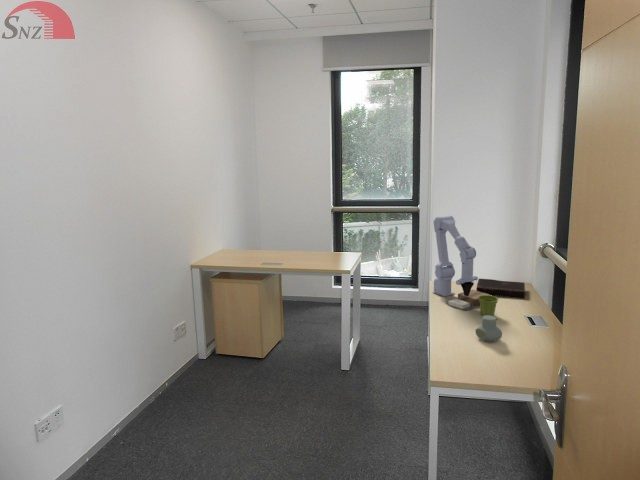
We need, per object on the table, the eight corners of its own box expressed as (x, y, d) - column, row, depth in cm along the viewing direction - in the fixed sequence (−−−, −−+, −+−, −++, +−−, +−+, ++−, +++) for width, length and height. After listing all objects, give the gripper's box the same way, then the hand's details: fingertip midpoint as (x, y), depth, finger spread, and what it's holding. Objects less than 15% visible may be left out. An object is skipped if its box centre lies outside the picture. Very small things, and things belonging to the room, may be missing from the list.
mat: (445, 303, 252) (445, 303, 252) (455, 300, 256) (455, 300, 256) (466, 310, 241) (466, 310, 241) (476, 307, 245) (476, 307, 245)
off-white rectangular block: (456, 298, 253) (456, 302, 253) (448, 300, 249) (448, 304, 250) (470, 303, 245) (469, 306, 246) (462, 305, 242) (462, 309, 242)
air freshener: (472, 336, 209) (473, 314, 207) (487, 333, 212) (488, 312, 210) (489, 345, 199) (490, 323, 197) (505, 342, 202) (506, 320, 200)
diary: (524, 300, 256) (525, 291, 255) (476, 295, 266) (476, 287, 265) (524, 289, 273) (524, 281, 272) (478, 286, 282) (478, 277, 281)
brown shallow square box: (457, 300, 256) (457, 293, 255) (472, 296, 262) (472, 289, 261) (475, 306, 246) (476, 299, 245) (490, 302, 252) (491, 294, 252)
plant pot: (500, 318, 230) (501, 301, 228) (480, 318, 230) (481, 301, 228) (493, 311, 239) (494, 294, 237) (475, 311, 239) (475, 295, 237)
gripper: (464, 274, 240) (463, 300, 243) (482, 269, 248) (481, 294, 250) (453, 271, 246) (452, 296, 248) (471, 267, 253) (471, 291, 256)
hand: (466, 295), depth 250 cm, fingers closed
